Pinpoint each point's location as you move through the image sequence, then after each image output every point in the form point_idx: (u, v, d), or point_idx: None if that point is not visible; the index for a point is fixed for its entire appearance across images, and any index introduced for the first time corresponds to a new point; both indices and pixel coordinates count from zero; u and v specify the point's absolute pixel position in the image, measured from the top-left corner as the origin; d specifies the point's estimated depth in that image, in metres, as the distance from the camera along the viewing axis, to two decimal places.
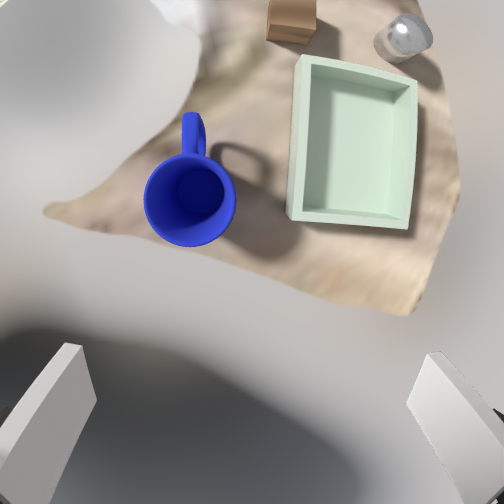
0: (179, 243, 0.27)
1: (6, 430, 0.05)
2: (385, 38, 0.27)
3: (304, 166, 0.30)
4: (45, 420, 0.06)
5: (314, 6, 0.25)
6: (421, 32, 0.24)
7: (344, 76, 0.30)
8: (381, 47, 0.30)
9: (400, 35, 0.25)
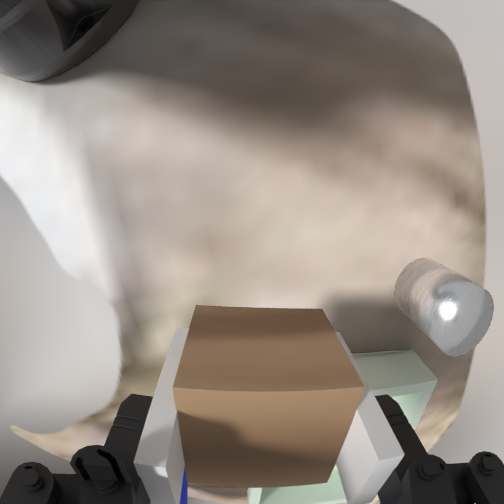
0: None
1: (157, 412, 0.07)
2: (414, 312, 0.19)
3: None
4: None
5: (344, 427, 0.08)
6: (477, 322, 0.16)
7: None
8: (403, 309, 0.21)
9: (439, 343, 0.16)
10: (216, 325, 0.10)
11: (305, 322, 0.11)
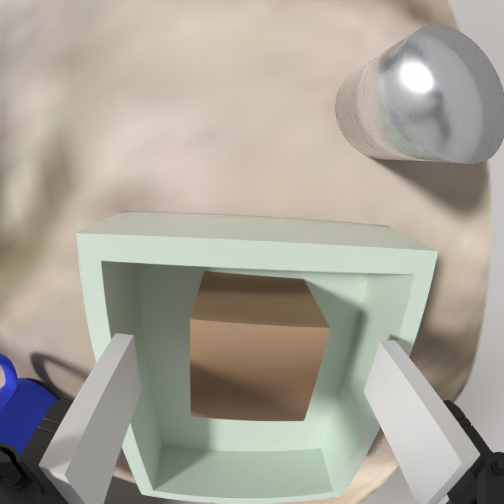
0: None
1: (71, 419, 0.06)
2: (362, 105, 0.11)
3: (137, 453, 0.13)
4: (106, 407, 0.07)
5: (315, 363, 0.11)
6: (479, 96, 0.07)
7: None
8: (350, 126, 0.13)
9: (411, 114, 0.08)
10: (221, 284, 0.14)
11: (289, 286, 0.14)
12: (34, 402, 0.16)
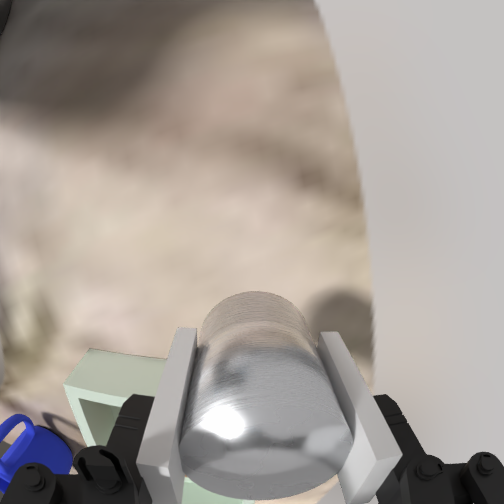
0: None
1: (159, 412, 0.07)
2: None
3: None
4: (185, 398, 0.09)
5: None
6: (296, 461, 0.07)
7: None
8: None
9: (195, 478, 0.08)
10: None
11: None
12: (46, 444, 0.22)
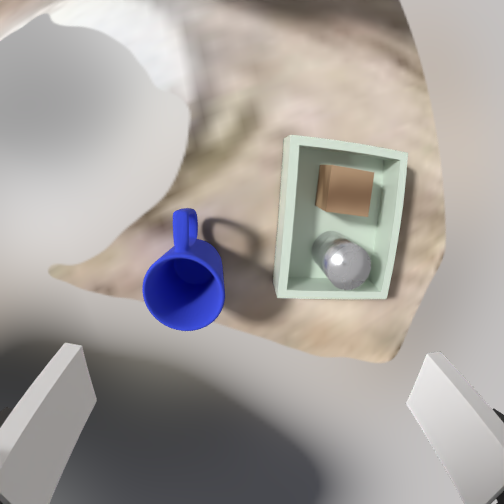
0: (176, 328, 0.30)
1: (6, 430, 0.05)
2: (319, 263, 0.35)
3: (289, 250, 0.34)
4: (45, 419, 0.06)
5: (370, 186, 0.31)
6: (357, 267, 0.32)
7: (333, 150, 0.33)
8: (316, 263, 0.37)
9: None
10: None
11: None
12: (208, 245, 0.36)
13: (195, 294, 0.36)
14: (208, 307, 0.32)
